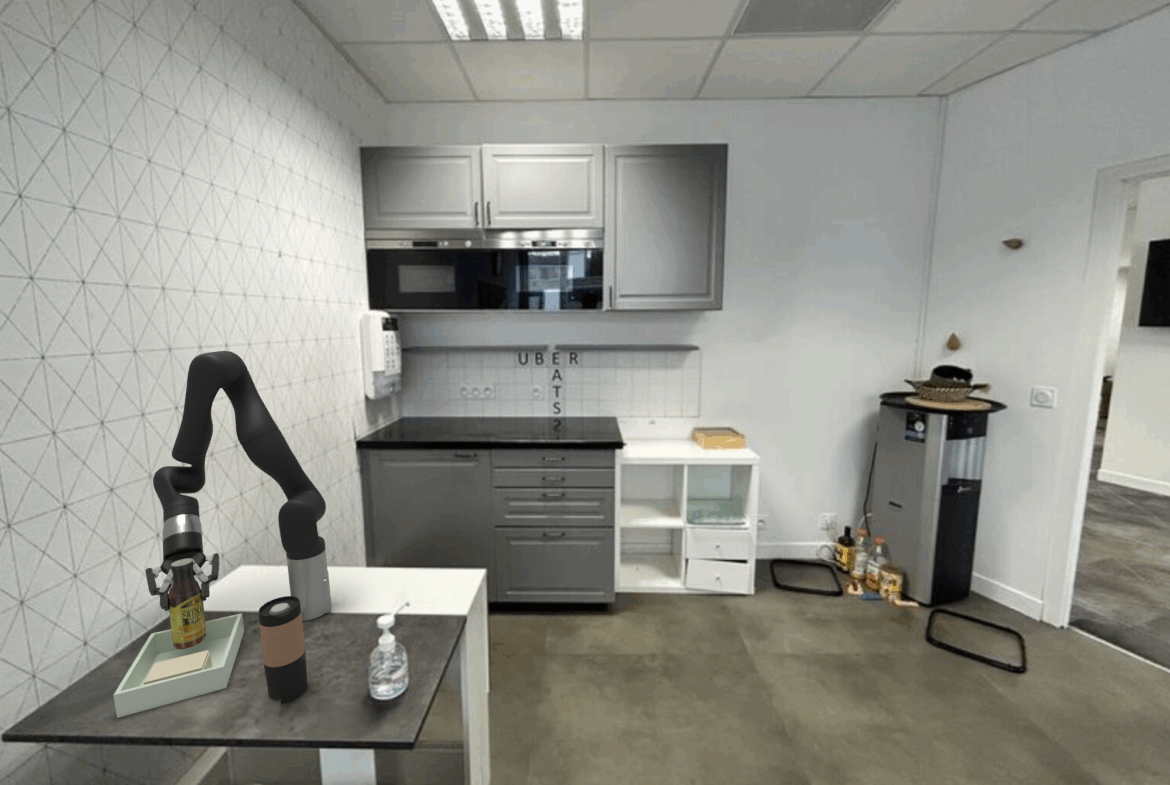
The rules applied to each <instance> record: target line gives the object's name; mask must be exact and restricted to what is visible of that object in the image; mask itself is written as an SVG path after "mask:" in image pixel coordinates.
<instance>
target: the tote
mask: <svg viewBox="0 0 1170 785" xmlns="http://www.w3.org/2000/svg"><path fill="white" fill-rule="evenodd" d="M205 624H206V636H205V638H204V640H203V641H202V642H200V643H199V644H197V645H195V646H193V647H190V648H186V649H176V648H175V647H174V646H173V641H172V633H171V628H169V629H166V630H165V629H164V630H161V631H156V632H152V633H150V635H149V637H148V638H147V640H146V641H145V643H144V645H143V646H142V648H141V649H140V651H139V653H138V654H137V656H136V658H135V659H134V661H133V663H132V664H131V666H130V667H129V669H128V670H127V672H126V674H125V675H124V677H123V679H122V680H121V682H120V684H119V685H118V687H117V689H116V690H115V692H114V694H113V702H114V706H115V712H116V718H117V719H118V718H122V717H126V716H129V715H133V714H137V713H141V712H144V711H147V710H151V709H152V710H153V709H155V708H158V707H163V706H166V705H170V704H173V703H174V704H175V703H176V702H181V701H184V700H187V699H191V698H195V697H199V696H202V695H206V694H209V693H213V692H217V691H220V690H223V689H227V687H228V685H229V682H230V681H229V680H230V679H231V675H232V671H233V668H234V665H235V662H236V659H237V656H238V653H239V649H240V645H241V643H242V639H243V637H244V633H245V628H244V627H245V626H244V620H243V612H242V613H237V614H233V615H229V616H223V617H219V618H215V619H209V620H207V621H206V620H205ZM206 650H209V652H211V660H212V668H208V669H204V670H201V671H197V672H193V673H189V674H185V675H181V676H177V677H173V678H169V679H166V680H162V681H158V682H154V683H150V684H146V685H143V684H144V681H145V679H146V678H147V676H148V674H149V672H150V670H151V668H152V667H153V665H154V663H157V662H161V661H165V660H169V659H173V658H177V657H182V656H186V655H190V654H194V653H198V652H202V651H206Z"/></svg>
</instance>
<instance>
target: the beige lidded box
mask: <svg viewBox="0 0 1170 785" xmlns="http://www.w3.org/2000/svg"><path fill="white" fill-rule="evenodd" d="M208 668H212V660H211V652H209V650H206V651H202V652H198V653H194V654H190V655H186V656H182V657H177V658H173V659H169V660H165V661H161V662H157V663H154V665H153V667H152V668H151V670H150V672H149V674H148V676H147V678H146V679H145V681H144V684H143V685H146V684H150V683H154V682H158V681H162V680H166V679H169V678H173V677H177V676H181V675H185V674H189V673H193V672H197V671H201V670H204V669H208Z"/></svg>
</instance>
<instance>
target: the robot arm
mask: <svg viewBox="0 0 1170 785" xmlns="http://www.w3.org/2000/svg"><path fill="white" fill-rule="evenodd" d="M187 372H188V373H187V379H186V389H185V396H184V403H183V404H184V405H183V413H182V416H181V417H182V418H181V421H180V426H179V429H178V432H177V435H176V438H175V441H174V444H173V448H172V450H171V456H172V457H171V458H172V459H174V460H175V461H177V462H180V463H184V464H187V465H191V466H179V465H178V466H175V465H174V466H173V465H167V466H162V467H160V468H158V469H157V470H156V472H155V474H154V475H153V477H152V478H153V479H152V485H153V488H154V491H155V494H156V496H157V497H158V499H159V502H160V505H161V508H162V512H163V515H162V516H163V517H162V518H163V527H162V563H161V564H160V566H158V567H153V568H152V567H148V568H145V577H146V581H147V582H146V583H147V587H148V588H147V589H148V592H149V594H150V596H152V597H154V596H159V607H160V608H161V610H164V611H165V612H167V611H169V598H168V594H169V591H170V589H171V587H172V586H173V584H174V583H173V572H172V571H171V564H172V563H173V562H175V561H178V560H181V559H187V558H189V559H193V563H194V565H193V573H194V577H196V579H197V580H198V581H200V582H201V583H200V588H201V592H202V601H203V602H206V601H207V598H210V594H211V593H210V592H211V591H210V584H211V583H212V582H215V581H217V580H219V574H220V573H219V572H220V571H219V570H220V559H221V558H220V554H219V553H218V552H216V553H215V552H214V554H212V555H206V554H204V544H203V542H204V541H203V529H202V528H203V527H202V522H201V517H200V516H201V515H200V503H199V500H198V499H197V498H195V497H193V496H190V495H186V494H197V493H199V492H200V491H201V490H202V489H203V488H204V486H206V457H207V453H208V450H209V448H210V444H211V441H212V438H213V433H214V424H213V419H212V407H213V403H214V401H215V398H216V396H217V394H218V392H219V391H220V389H222V390H223V392H224V393H225V394H226V397H227V398H228V400H229V402H230V404H231V406H232V408H233V412H234V420H235V421H234V422H235V423H234V424H235V432H236V436H237V440H238V442H239V444H240V446H241V447H242V449H243V451H244V452H245V454H246V456H247V457H248V459H249V461H251V462H252V464H253V465H254V466H255V467H256V468H258V469H259V470H260V471H262V472H263V473H265V474H266V475H268V476H269V477H270V478H271V479H273V480H274V481H275V482H276V483H277V484H278V485H279V487H280V488H281V490H282V492H283V494H284V495H285V497H286V500H287V501H286V502H285V503H284V504H283V505H281V507H280V508H279V511H278V517H277V520H278V521H277V522H278V529H279V534H280V542H281V546H282V548H283V550H284V552H285V554H286V562H287V563H286V564H287V565H286V566H287V574H288V584H289V585H288V586H289V592H290V594H289V595H290V596H295V597H297V598H299V600H300V606H301V615H302V622H303V621H310V620H315V619H317V618H320V617H321V616H324V615H325V613H326V614H328V613H331V612H332V611H331V610H332V597H331V586H330V575H329V570H328V561H327V560H328V559H327V551H326V542H325V539H324V537H322V536H320V535H319V532H318V530H319V529H318V524H317V523H318V522H319V521H320V520H321V519H322V518H323V516H324V515H325V513H326V511H327V510H326V509H327V505H326V501H325V498H324V497H323V495H322V493H320V491H319V489H318V488H317V487H316V485H315V484H314V483H313V482H312V481H311V479H310V478H309V477H308V474H306V472H305V471H304V470H303V468H302V466H301V464H300V462H299V460H298V459H297V458H296V456H295V454H294V452H293V451H292V449H291V446H290V445H289V443H288V442H287V440H286V438H285V436H284V435H283V433H282V431H281V430H280V428H279V426H278V424H277V423H276V422H275V420H274V418H273V416H272V415H271V413H270V411H269V410H268V408H267V406H266V404H265V403H264V401H263V399H262V397H261V396H260V393H259V392H258V389H257V387H256V385H255V382H254V381H253V380H254V379H253V378H252V375H251V374H250V371H249V369H248V367H247V365H246V363H245V361H244V360H243V359H242V358H241V357H240V356H239V355H238V354H236V353H235V352H233V351H229V350H219V351H210V352H204V353H201V354H198V355H195V357H194V358H193V359H192V360H191V361H190V364H189V367H188V371H187ZM206 562H208V564H209V565H210V566H211V573H210V574H208V575H206V574H205V572H204V570H203V569H202V567H203V566H204V565H205V563H206ZM161 572H163V574H165V575H166V576H165V578H164V580H163V582H162V584H161V586H160V587H157V582H156V581H157V580H156V578H158V577H159V575H160V573H161Z"/></svg>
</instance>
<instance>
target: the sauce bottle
mask: <svg viewBox="0 0 1170 785" xmlns="http://www.w3.org/2000/svg"><path fill="white" fill-rule="evenodd" d="M193 565H194V563H193V559H189V558H187V559H181V560H178V561H175V562H173V563H172V564H171V571H172V572H173V583H174V584H173V586H172V587H171V588H170V590H169V592H168V598H169V610H168V611H169V612H168V613H169V620H170V622H169V623H170V629H171V633H172V641H173V646H174V647H175V648H176V649H186V648H190V647H193V646H195V645H197V644H199V643H200V642H202V641H203V640H204V638H205V636H206V624H205V621H206V616H205V607H204V606H205V605H204V601H202V592H201V585H199V582H198V581H197V579H196V578H195V575H194V573H193Z"/></svg>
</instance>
